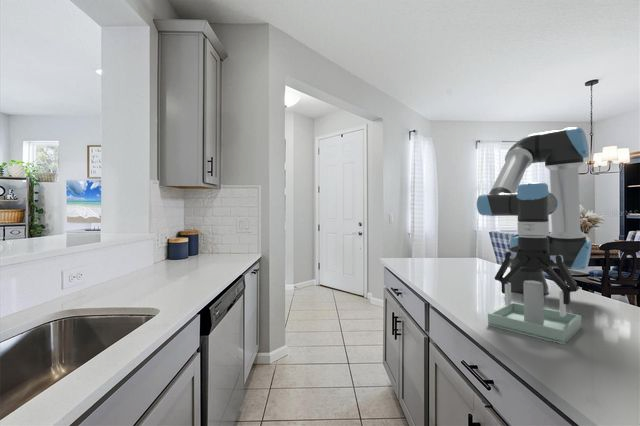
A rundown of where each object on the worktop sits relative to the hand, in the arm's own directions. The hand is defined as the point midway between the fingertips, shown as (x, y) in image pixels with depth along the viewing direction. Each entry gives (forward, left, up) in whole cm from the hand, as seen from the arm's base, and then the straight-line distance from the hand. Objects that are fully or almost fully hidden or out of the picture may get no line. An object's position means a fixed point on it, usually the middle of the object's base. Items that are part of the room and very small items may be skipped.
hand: (533, 310), depth 90 cm
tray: (0, 0, -5) cm, 5 cm away
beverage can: (0, 0, -4) cm, 4 cm away
